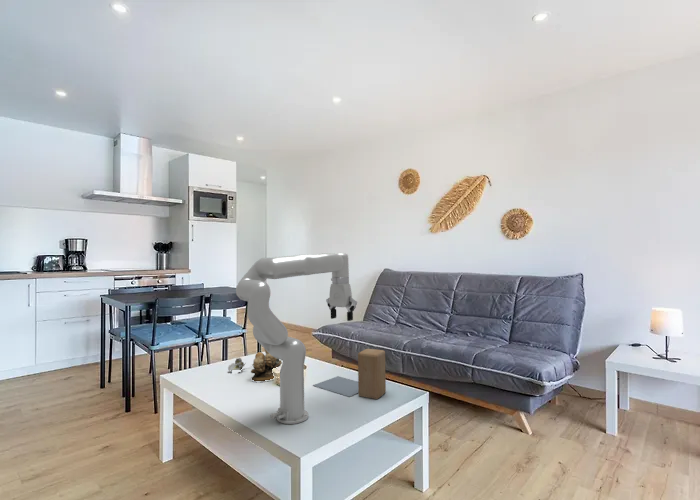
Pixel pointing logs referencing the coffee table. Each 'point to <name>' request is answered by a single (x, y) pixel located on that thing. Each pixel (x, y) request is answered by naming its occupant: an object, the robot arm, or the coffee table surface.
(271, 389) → the coffee table surface
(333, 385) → the mat
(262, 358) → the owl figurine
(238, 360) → the artificial flower
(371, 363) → the wooden block
